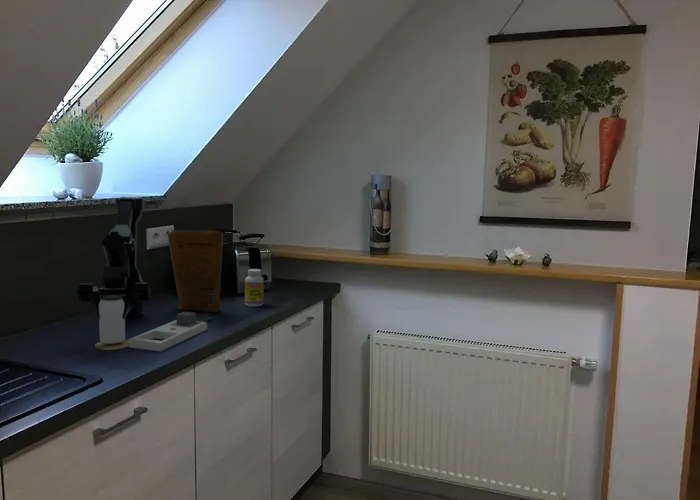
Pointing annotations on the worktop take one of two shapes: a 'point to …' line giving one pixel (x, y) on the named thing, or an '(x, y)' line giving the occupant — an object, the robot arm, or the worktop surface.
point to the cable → (208, 319)
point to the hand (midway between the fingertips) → (111, 318)
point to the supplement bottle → (254, 288)
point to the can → (111, 320)
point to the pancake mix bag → (197, 268)
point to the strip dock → (166, 335)
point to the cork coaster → (112, 345)
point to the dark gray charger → (186, 318)
